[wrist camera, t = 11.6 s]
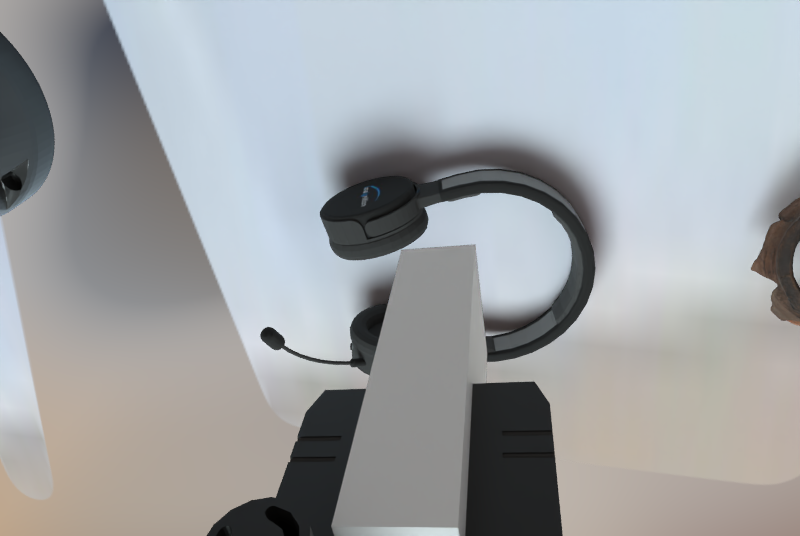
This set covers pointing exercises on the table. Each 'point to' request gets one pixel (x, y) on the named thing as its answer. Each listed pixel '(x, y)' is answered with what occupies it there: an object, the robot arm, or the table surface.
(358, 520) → the robot arm
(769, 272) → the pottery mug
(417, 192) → the headset
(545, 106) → the table surface
